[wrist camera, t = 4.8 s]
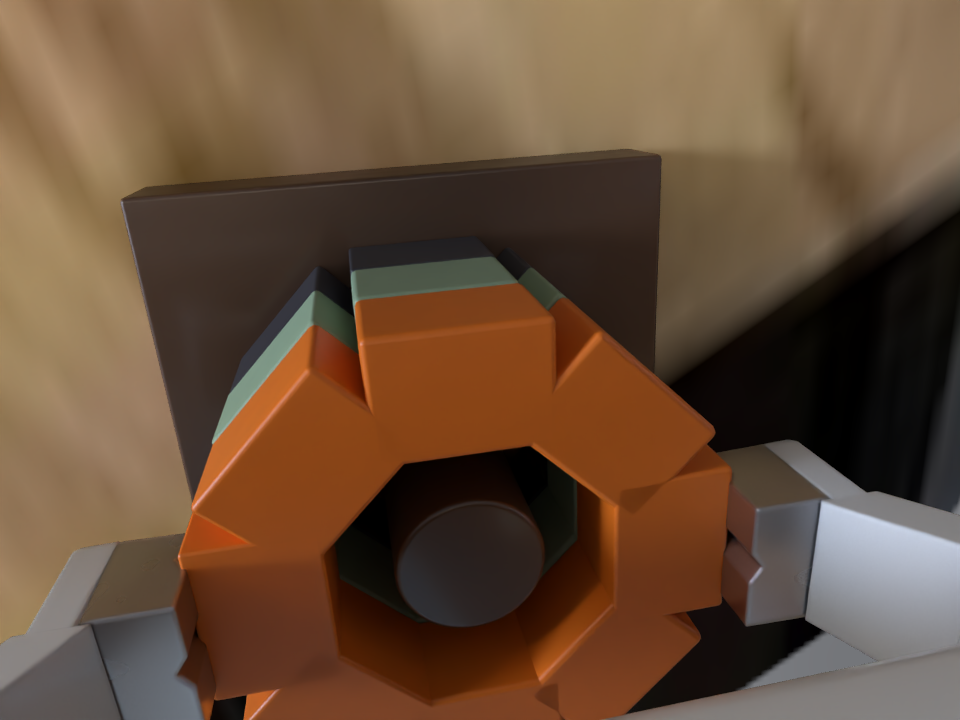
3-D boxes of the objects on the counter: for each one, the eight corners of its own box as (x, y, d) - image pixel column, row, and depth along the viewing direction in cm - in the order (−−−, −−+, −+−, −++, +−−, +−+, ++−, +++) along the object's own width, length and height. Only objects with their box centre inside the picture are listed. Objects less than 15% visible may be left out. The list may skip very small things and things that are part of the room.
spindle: (630, 148, 14) (828, 185, 8) (622, 536, 17) (761, 750, 11) (142, 187, 12) (-15, 262, 7) (236, 602, 16) (182, 880, 10)
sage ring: (638, 240, 11) (684, 263, 10) (629, 591, 14) (665, 651, 12) (186, 285, 10) (161, 318, 9) (266, 657, 12) (257, 731, 11)
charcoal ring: (603, 222, 13) (638, 239, 11) (601, 542, 15) (629, 591, 14) (205, 261, 12) (186, 285, 10) (274, 597, 14) (266, 656, 12)
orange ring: (686, 263, 10) (749, 294, 8) (666, 651, 12) (712, 729, 11) (162, 319, 9) (127, 365, 7) (258, 731, 11) (246, 831, 10)
